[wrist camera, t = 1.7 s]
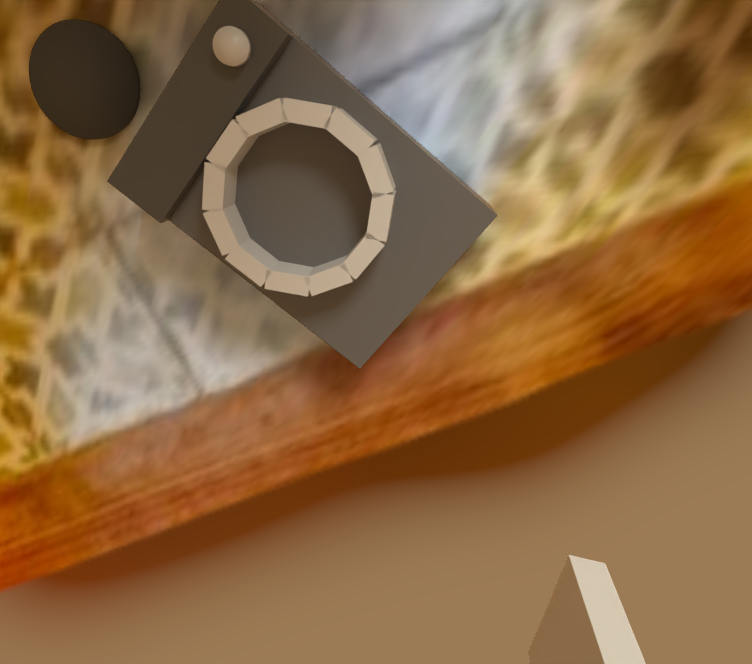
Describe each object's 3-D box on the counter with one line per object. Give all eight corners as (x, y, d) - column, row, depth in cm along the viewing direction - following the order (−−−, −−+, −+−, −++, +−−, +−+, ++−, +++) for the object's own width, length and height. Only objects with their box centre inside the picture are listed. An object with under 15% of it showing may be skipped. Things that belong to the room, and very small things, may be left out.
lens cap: (16, 69, 33) (6, 68, 32) (89, -4, 31) (81, -7, 31) (91, 159, 34) (83, 161, 34) (164, 94, 33) (158, 94, 32)
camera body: (150, 172, 34) (96, 183, 28) (259, 3, 31) (222, -23, 25) (366, 343, 37) (355, 384, 31) (489, 204, 33) (502, 221, 27)
